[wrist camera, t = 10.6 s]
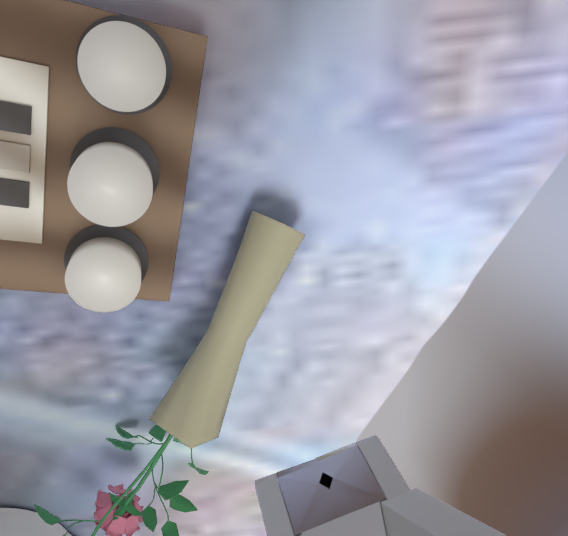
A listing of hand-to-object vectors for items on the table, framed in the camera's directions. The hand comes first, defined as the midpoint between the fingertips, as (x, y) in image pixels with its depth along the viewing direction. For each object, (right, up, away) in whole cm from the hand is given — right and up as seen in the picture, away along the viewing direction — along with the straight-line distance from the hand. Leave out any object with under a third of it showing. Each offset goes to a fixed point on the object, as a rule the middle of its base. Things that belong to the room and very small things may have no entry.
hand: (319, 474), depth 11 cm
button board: (-15, +13, +25) cm, 32 cm away
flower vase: (-11, -5, +35) cm, 36 cm away
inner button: (-14, +5, +24) cm, 28 cm away
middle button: (-12, +10, +20) cm, 26 cm away
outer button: (-11, +17, +19) cm, 28 cm away
